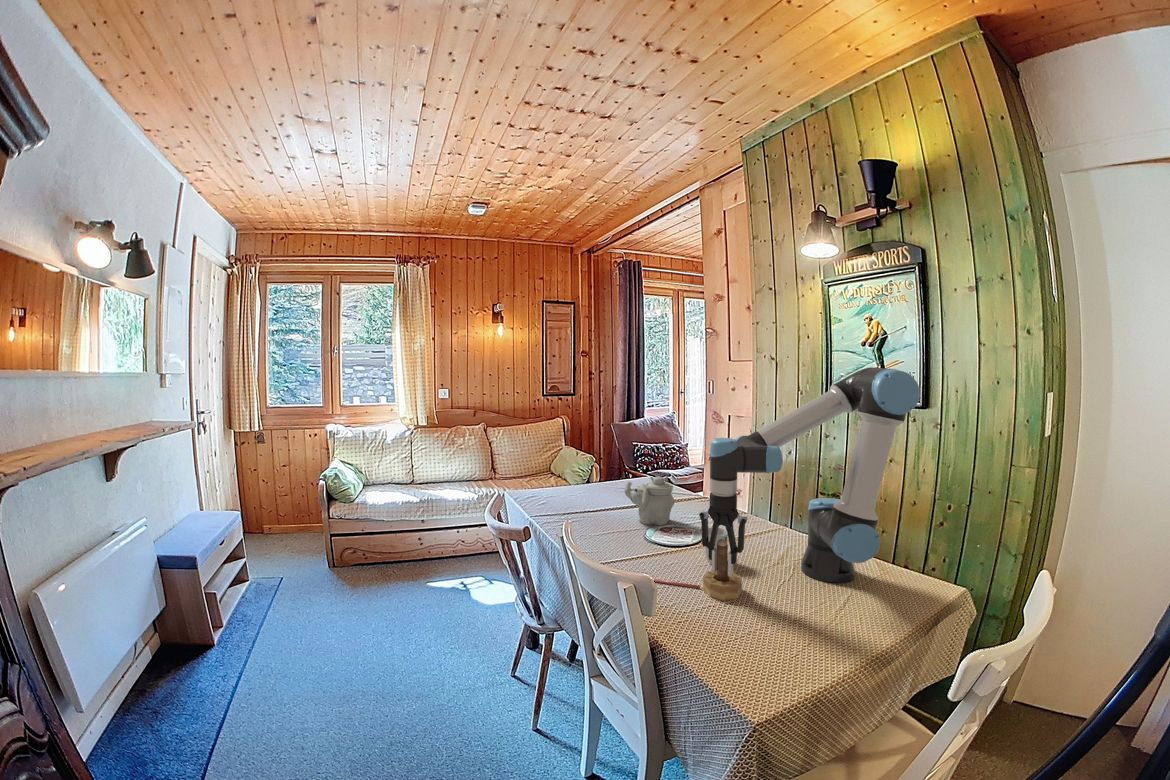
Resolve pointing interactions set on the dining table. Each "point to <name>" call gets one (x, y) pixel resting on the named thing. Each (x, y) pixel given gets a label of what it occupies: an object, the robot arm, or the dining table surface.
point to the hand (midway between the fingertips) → (722, 572)
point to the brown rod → (722, 560)
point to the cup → (720, 535)
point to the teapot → (652, 500)
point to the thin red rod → (677, 583)
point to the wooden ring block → (722, 586)
